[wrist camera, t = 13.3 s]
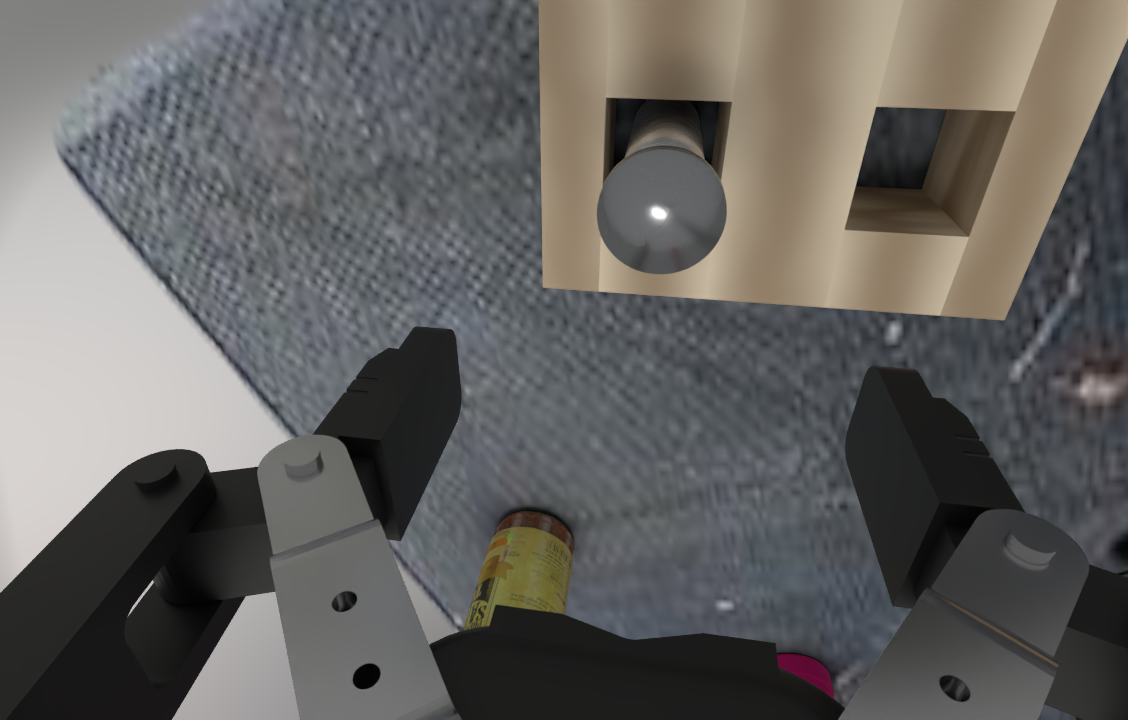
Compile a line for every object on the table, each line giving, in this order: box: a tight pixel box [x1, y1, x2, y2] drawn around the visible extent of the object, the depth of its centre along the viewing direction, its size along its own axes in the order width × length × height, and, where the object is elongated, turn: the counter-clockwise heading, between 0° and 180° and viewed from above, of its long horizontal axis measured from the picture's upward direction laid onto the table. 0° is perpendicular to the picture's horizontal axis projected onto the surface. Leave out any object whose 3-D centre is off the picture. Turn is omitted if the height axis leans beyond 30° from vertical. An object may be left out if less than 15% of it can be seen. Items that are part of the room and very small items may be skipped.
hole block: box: [539, 0, 1128, 320], centre depth 28 cm, size 20×12×6 cm, turn 90°
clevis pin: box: [597, 99, 727, 274], centre depth 26 cm, size 4×4×12 cm
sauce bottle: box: [463, 511, 574, 630], centre depth 40 cm, size 7×6×20 cm
